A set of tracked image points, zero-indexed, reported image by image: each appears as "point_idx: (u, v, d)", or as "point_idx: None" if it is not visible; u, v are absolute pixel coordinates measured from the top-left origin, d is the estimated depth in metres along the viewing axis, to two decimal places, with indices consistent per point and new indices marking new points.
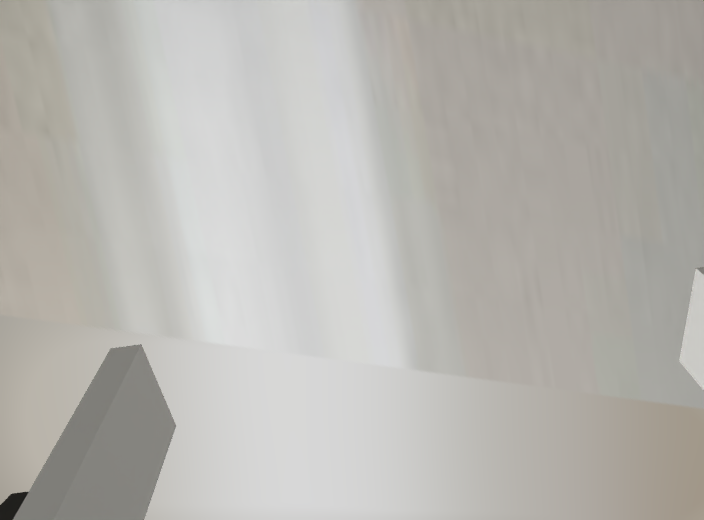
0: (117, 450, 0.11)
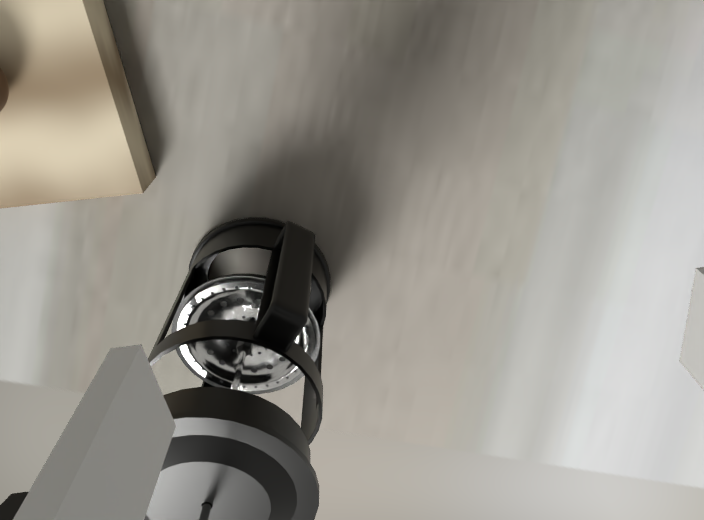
0: (117, 450, 0.11)
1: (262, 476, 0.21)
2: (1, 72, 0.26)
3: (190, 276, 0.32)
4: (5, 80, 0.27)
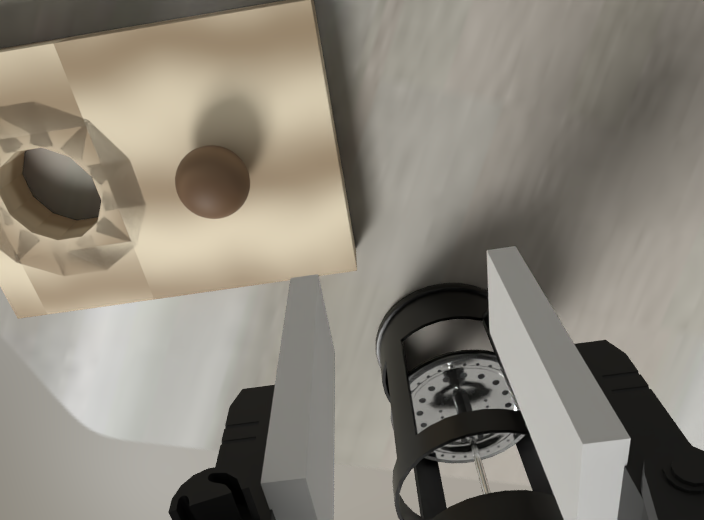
0: (321, 357, 0.13)
1: None
2: (246, 167, 0.27)
3: (403, 350, 0.32)
4: None
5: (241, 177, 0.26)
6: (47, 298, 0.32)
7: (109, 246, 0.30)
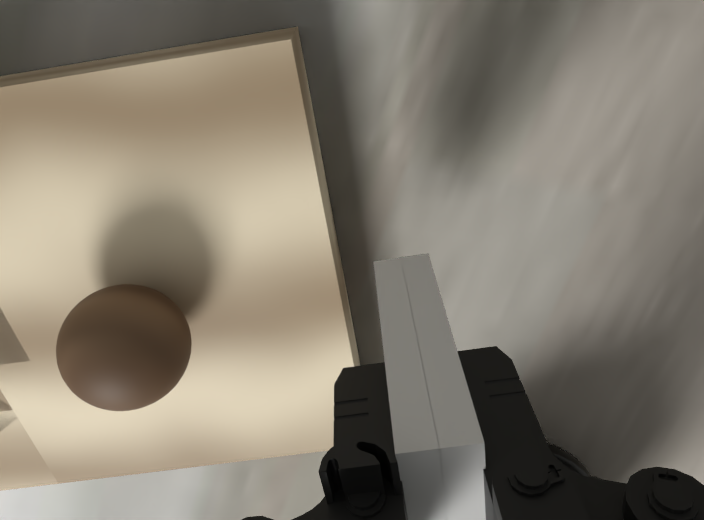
0: None
1: None
2: (184, 320, 0.16)
3: None
4: (189, 330, 0.16)
5: (171, 347, 0.15)
6: None
7: None
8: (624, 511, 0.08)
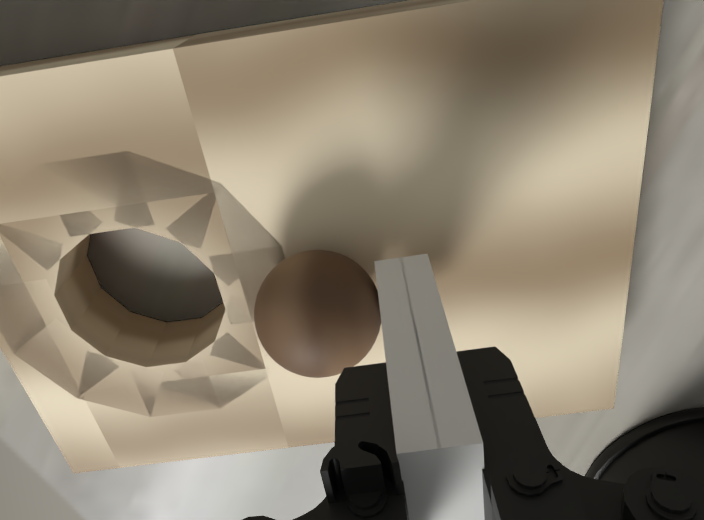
0: None
1: None
2: (318, 342, 0.14)
3: None
4: (323, 354, 0.14)
5: (276, 344, 0.14)
6: (122, 446, 0.20)
7: (229, 375, 0.18)
8: (623, 511, 0.08)
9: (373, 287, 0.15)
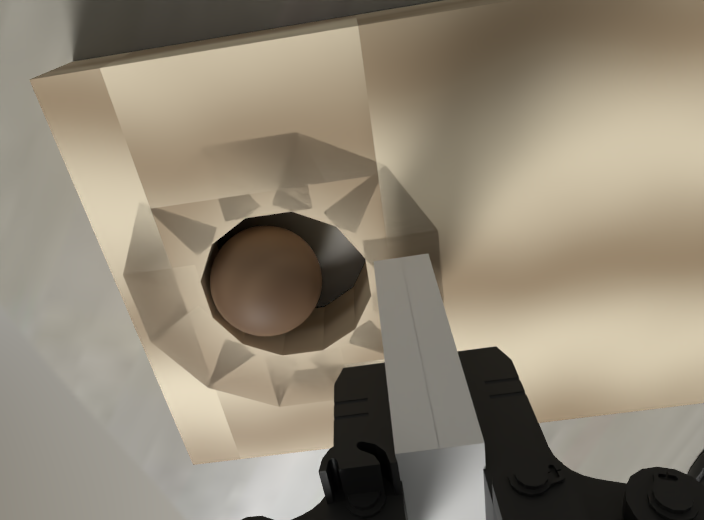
0: None
1: None
2: None
3: None
4: None
5: None
6: (245, 437, 0.20)
7: (364, 363, 0.18)
8: (624, 511, 0.08)
9: None
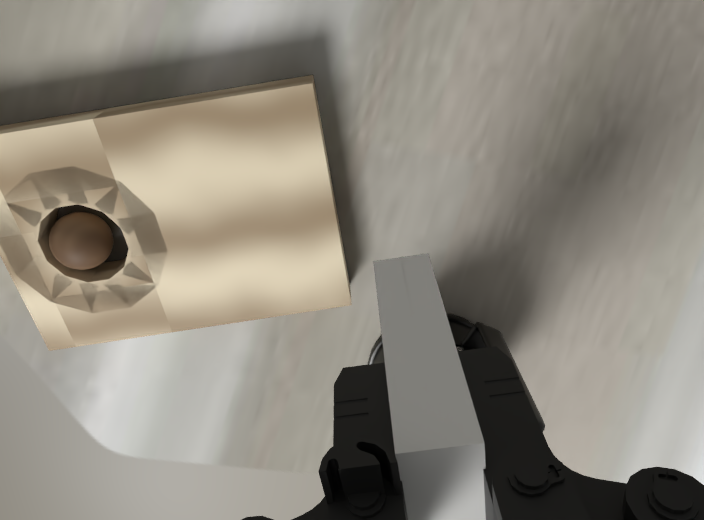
0: None
1: None
2: None
3: None
4: None
5: (110, 230, 0.34)
6: (76, 332, 0.35)
7: (133, 286, 0.34)
8: (624, 511, 0.08)
9: None
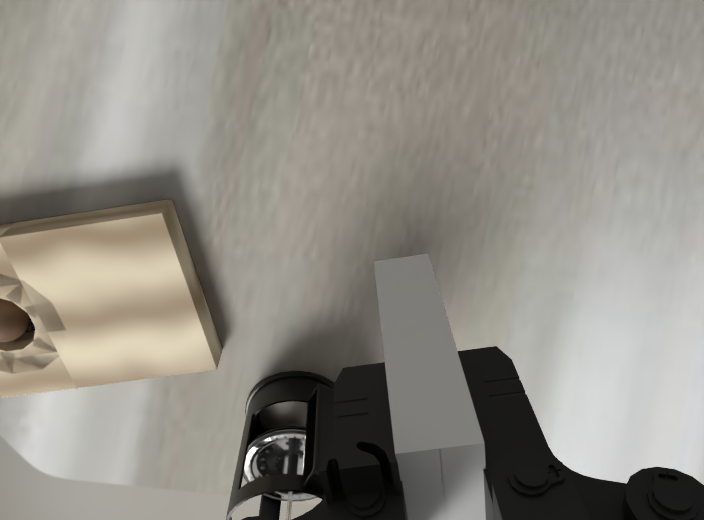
0: None
1: None
2: None
3: (251, 423, 0.45)
4: None
5: None
6: (1, 387, 0.45)
7: (42, 354, 0.43)
8: (624, 511, 0.08)
9: None
